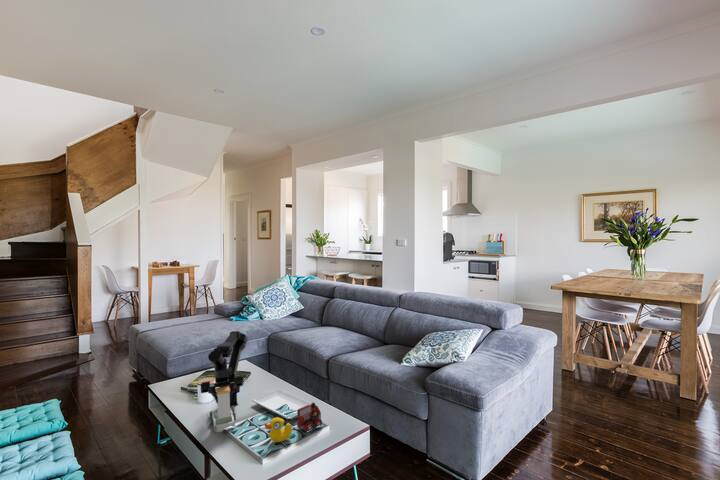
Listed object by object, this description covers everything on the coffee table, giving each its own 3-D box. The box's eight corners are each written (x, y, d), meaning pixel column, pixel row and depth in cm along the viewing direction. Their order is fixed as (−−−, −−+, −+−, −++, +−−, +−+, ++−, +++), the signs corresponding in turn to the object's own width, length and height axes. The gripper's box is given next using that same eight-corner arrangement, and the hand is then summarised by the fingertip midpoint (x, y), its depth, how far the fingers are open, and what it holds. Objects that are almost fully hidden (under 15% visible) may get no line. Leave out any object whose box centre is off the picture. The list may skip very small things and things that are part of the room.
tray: (288, 425, 173) (288, 417, 173) (251, 405, 194) (251, 399, 194) (316, 412, 185) (316, 404, 185) (278, 394, 206) (278, 388, 206)
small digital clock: (233, 412, 186) (233, 405, 186) (237, 427, 171) (237, 420, 171) (209, 417, 182) (209, 410, 182) (211, 433, 166) (211, 426, 166)
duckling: (266, 448, 154) (265, 423, 154) (263, 441, 159) (263, 418, 159) (293, 441, 159) (292, 417, 159) (290, 435, 164) (289, 412, 163)
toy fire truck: (325, 425, 172) (324, 402, 171) (303, 435, 163) (302, 412, 163) (315, 420, 176) (315, 398, 176) (294, 430, 168) (293, 407, 168)
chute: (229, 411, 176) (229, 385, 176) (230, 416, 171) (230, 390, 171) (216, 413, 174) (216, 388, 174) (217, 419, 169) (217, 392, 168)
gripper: (200, 365, 172) (201, 398, 162) (242, 358, 179) (246, 390, 170) (200, 376, 179) (201, 409, 169) (240, 369, 187) (244, 400, 177)
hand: (223, 402), depth 171 cm, fingers closed on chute, 5 cm apart
